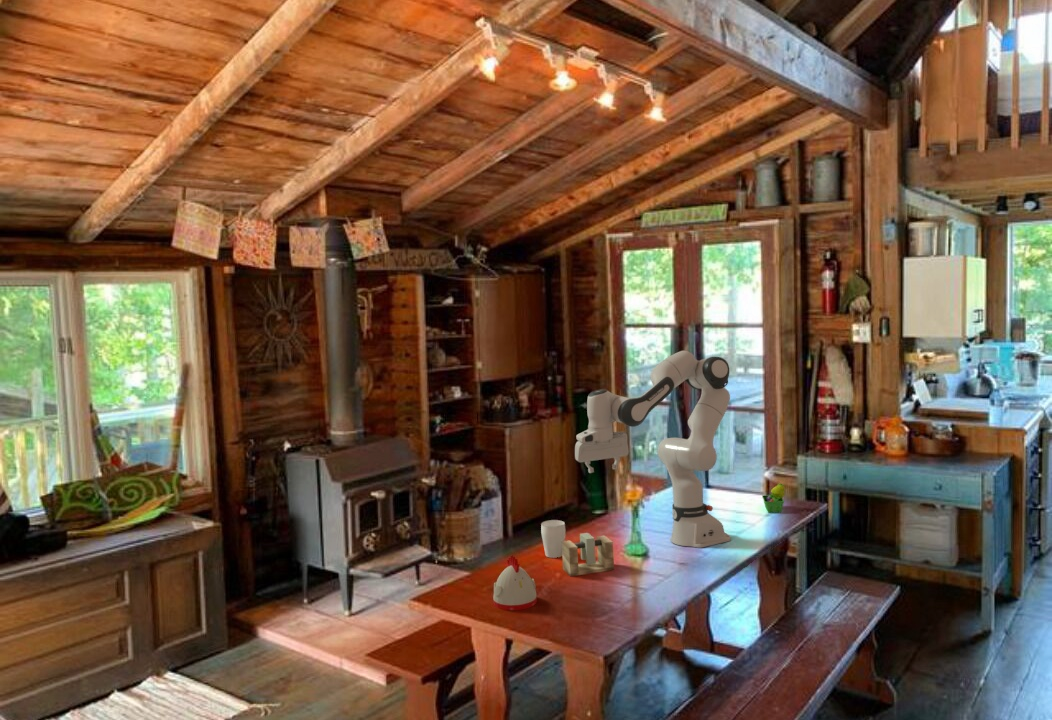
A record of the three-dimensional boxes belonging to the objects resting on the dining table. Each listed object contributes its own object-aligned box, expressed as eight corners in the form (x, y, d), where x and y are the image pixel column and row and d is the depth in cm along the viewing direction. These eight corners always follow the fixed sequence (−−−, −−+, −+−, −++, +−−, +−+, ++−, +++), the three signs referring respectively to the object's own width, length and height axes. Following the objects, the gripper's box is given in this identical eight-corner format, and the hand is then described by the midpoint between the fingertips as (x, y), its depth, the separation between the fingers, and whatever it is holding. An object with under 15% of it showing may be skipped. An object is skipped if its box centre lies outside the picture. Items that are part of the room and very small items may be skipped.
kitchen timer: (503, 613, 263) (500, 566, 262) (487, 599, 276) (484, 554, 274) (544, 604, 268) (541, 558, 267) (526, 591, 281) (524, 546, 280)
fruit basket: (761, 506, 366) (761, 480, 365) (783, 506, 365) (782, 480, 364) (765, 513, 355) (764, 487, 354) (787, 513, 354) (787, 486, 353)
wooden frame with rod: (605, 562, 305) (604, 535, 304) (614, 569, 297) (612, 541, 296) (563, 569, 300) (561, 541, 299) (570, 576, 293) (569, 547, 292)
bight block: (588, 557, 302) (587, 532, 301) (595, 563, 295) (594, 538, 295) (580, 558, 301) (579, 533, 300) (587, 564, 295) (586, 539, 294)
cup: (564, 559, 311) (563, 527, 310) (540, 558, 313) (538, 526, 312) (568, 551, 320) (566, 520, 319) (544, 551, 321) (543, 519, 320)
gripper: (623, 429, 320) (625, 465, 322) (572, 435, 314) (574, 472, 316) (630, 431, 314) (632, 468, 316) (578, 438, 308) (580, 476, 310)
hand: (603, 470), depth 316 cm, fingers open, 8 cm apart
